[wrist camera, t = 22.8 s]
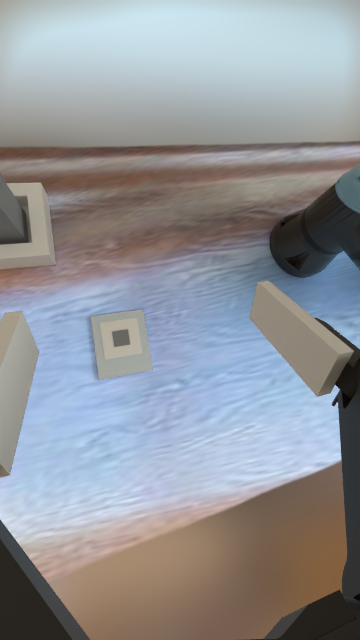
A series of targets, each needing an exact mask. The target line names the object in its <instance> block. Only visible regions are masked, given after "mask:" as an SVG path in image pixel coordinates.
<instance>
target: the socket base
mask: <svg viewBox="0 0 360 640" xmlns="http://www.w3.org/2000/svg"><path fill="white" fill-rule="evenodd" d="M6 184H7V185H8V187H9V188H10V190H11V191H12V193H13V194H14V196H15V197H16V199H17V201H18V202H19V204H20V205H21V207H22V208H23V210H24V211H25V213H26V218H27V229H28V239H29V243H19V244H4V245H0V270H1V269H13V268H24V267H35V266H47V265H56V260H55V251H54V243H53V234H52V226H51V218H50V209H49V201H48V197H47V195H46V193H45V190H44V188H43V186H42V184H41V183H6Z"/></svg>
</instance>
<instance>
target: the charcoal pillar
mask: <svg viewBox="0 0 360 640" xmlns="http://www.w3.org/2000/svg"><path fill="white" fill-rule="evenodd" d="M19 243H29V239H28V229H27V218H26V213H25V211H24V210H23V208H22V207H21V205H20V204H19V202H18V201H17V199H16V197H15V196H14V194H13V193H12V191H11V190H10V188H9V187H8V185H7V184H6V182H5V181H4V179H3V178H2V176H1V175H0V245H4V244H19Z"/></svg>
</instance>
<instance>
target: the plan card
mask: <svg viewBox="0 0 360 640" xmlns="http://www.w3.org/2000/svg"><path fill="white" fill-rule="evenodd" d="M91 324H92V331H93V339H94V346H95V354H96V361H97V368H98V376H99V380H103V379H109V378H114V377H119V376H124V375H129V374H135V373H140V372H145V371H150V370H153V365H152V359H151V353H150V347H149V341H148V335H147V329H146V323H145V317H144V311H143V309H141V310H133V311H126V312H118V313H111V314H104V315H96V316H91Z"/></svg>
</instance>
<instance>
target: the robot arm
mask: <svg viewBox="0 0 360 640" xmlns="http://www.w3.org/2000/svg"><path fill="white" fill-rule="evenodd" d="M270 248H271V252H272V255H273V257H274V259H275V261H276V262H277V263H278V265H279V266H280V267H281V268H282V269H283V270H285V271H286V272H287V273H289V274H291V275H294V276H297V277H309V276H312V275H314V274H316V273H318V272H320V271H322V270H323V269H325V268H326V267H327V265H328V264H329V263H330V262H331V261H332V260H333V259H334V258H335V257H336V255H337V254H338V253H340V252H342V251H345V253H346V254H347V255H348V256H349V257H350V259H351V260H352V261H353V262H354V264H355V265H356V266H357V268H358V269H359V270H360V163H359V164H358V165H356V166H355V167H354V168H353V169H351V170H350V171H349V172H347V173H345V174H343V175H342V176H341V177H340V178H339V179H338V180H337V182H336V183H335V184H334V185H333V186H332V187H331V188H329V189H328V190H327V191H326V192H325V193H324V194H322V195H321V196H320V197H319V198H318V199H316V200H315V201H314V202H313V203H312V204H311V205H310V206H308V207H307V208H306V209H303V210H301V211H298V212H295V213H293V214H290V215H288V216H286V217H285V218H283V219H282V220H281V221H280V222H279V223H278V224H277V225H276V226H275V227H274V228H273V230H272V233H271V236H270ZM250 319H251V321H252V322H253V323H254V324H255V325H256V326H257V328H258V329H259V330H260V331H261V332H262V333H263V335H264V336H265V337H266V338H267V339H268V340H269V341H270V343H271V344H272V345H273V346H274V347H275V348H276V350H277V351H278V352H279V353H280V354H281V355H282V357H283V358H284V359H285V360H286V361H287V362H288V364H289V365H290V366H291V367H292V368H293V369H294V370H295V372H296V373H297V374H298V375H299V376H300V377H301V379H302V380H303V381H304V382H305V383H306V384H307V386H308V387H309V388H310V389H311V390H312V391H313V393H314V394H315V395H316V396H321V395H325V394H329V393H331V391H332V389H333V387H334V386H335V385H336V386H337V387H338V388H339V389H340V391H339V392H338V394H337V396H336V397H335V399H334V401H333V403H332V406H335V404H336V403H337V402H338V408H339V424H340V440H341V456H342V472H343V489H344V504H345V521H346V535H347V536H346V537H347V561H346V564H345V567H344V571H343V577H342V593H341V592H340V590H338V591H336V592H334V593H332V594H330V595H327V596H325V597H324V598H321V599H319V600H317V601H315V602H313V603H311V604H309V605H307V606H305V607H303V608H301V609H299V610H297V611H295V612H293V613H291V614H289V615H287V616H285V617H283V618H281V620H280V621H279V622H278V623H277V624H276V625H275V626H274V627H273V629H272V630H271V631H270V632H269V633H268V634H267V635H266V637H265V638H264V639H255V640H360V349H358V348H357V347H356V346H355V345H353V344H352V343H351V342H350V341H348V340H347V339H346V338H345V337H343V336H342V335H340V333H338V332H337V331H336V330H334V328H332V327H331V326H330V325H329V324H327V323H326V322H324V321H322V320H320V319H318V318H313V317H312V316H311V315H310V314H308V313H307V312H306V311H305V310H304V309H302V308H301V307H300V306H299V305H298V304H296V303H295V302H294V301H293V300H291V299H290V298H289V297H288V296H287V295H285V294H284V293H283V292H282V291H281V290H279V289H278V288H277V287H276V286H274V285H273V284H272V283H271V282H270V281H261V282H257V287H256V291H255V296H254V301H253V305H252V310H251V314H250ZM38 355H39V350H38V348H37V345H36V343H35V341H34V338H33V336H32V333H31V331H30V328H29V326H28V324H27V321H26V319H25V316H24V314H23V312H22V311H18V312H10V313H5V314H4V316H3V318H2V320H1V322H0V477H4V476H8V475H10V472H11V468H12V464H13V460H14V456H15V451H16V447H17V443H18V439H19V435H20V430H21V426H22V422H23V418H24V414H25V409H26V405H27V401H28V397H29V393H30V388H31V384H32V380H33V376H34V371H35V367H36V363H37V359H38ZM0 640H90V639H89V637H88V636H87V635H86V634H85V632H84V631H83V629H82V628H81V627H80V625H79V624H78V623H77V621H76V620H75V619H74V617H73V616H72V615H71V613H70V612H69V611H68V609H67V608H66V607H65V605H64V604H63V603H62V601H61V600H60V599H59V597H58V596H57V595H56V594H55V592H54V591H53V589H52V588H51V587H50V585H49V584H48V583H47V581H46V580H45V579H44V577H43V576H42V575H41V573H40V572H39V571H38V569H37V568H36V567H35V565H34V564H33V563H32V561H31V560H30V559H29V557H28V556H27V555H26V553H25V552H24V551H23V549H22V548H21V547H20V545H19V544H18V543H17V541H16V540H15V539H14V537H13V536H12V535H11V533H10V532H9V531H8V529H7V528H6V527H5V525H4V524H3V523H2V521H1V520H0ZM252 640H254V639H252Z"/></svg>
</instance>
